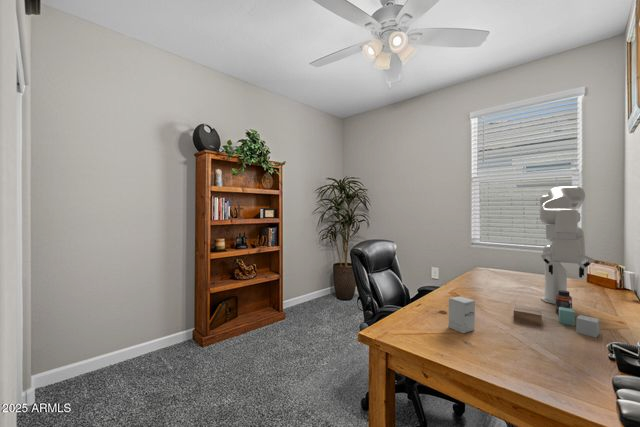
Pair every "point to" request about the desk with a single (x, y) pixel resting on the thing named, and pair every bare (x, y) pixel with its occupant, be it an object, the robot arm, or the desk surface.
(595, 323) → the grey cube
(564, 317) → the teal cube
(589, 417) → the desk surface
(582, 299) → the desk surface
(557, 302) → the supplement bottle
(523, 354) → the desk surface
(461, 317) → the supplement box
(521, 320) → the walnut block
